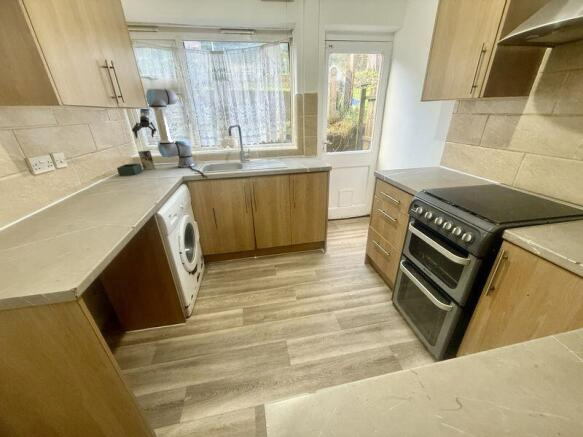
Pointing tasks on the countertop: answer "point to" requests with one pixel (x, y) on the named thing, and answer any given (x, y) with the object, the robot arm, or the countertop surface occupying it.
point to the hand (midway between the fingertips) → (144, 137)
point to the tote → (129, 169)
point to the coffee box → (146, 160)
